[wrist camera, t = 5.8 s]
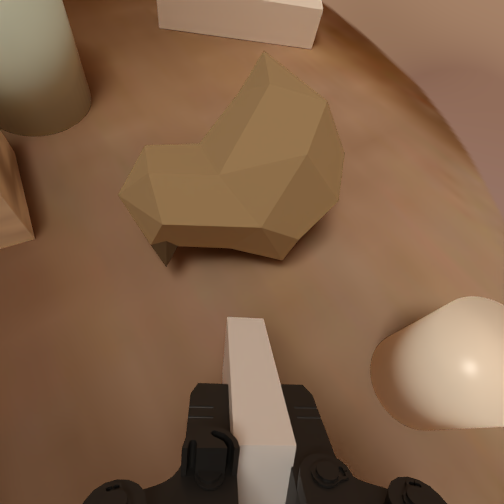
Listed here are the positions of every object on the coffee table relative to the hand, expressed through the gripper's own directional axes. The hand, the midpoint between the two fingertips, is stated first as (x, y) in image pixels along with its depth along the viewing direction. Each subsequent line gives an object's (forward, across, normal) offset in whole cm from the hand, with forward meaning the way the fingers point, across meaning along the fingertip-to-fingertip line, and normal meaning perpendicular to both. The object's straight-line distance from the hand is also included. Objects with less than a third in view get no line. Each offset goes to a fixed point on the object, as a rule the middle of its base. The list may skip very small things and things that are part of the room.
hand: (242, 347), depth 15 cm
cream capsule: (+6, +12, -5) cm, 14 cm away
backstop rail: (+30, 0, +20) cm, 36 cm away
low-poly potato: (+14, 0, +3) cm, 14 cm away
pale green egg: (+20, -16, +10) cm, 28 cm away
